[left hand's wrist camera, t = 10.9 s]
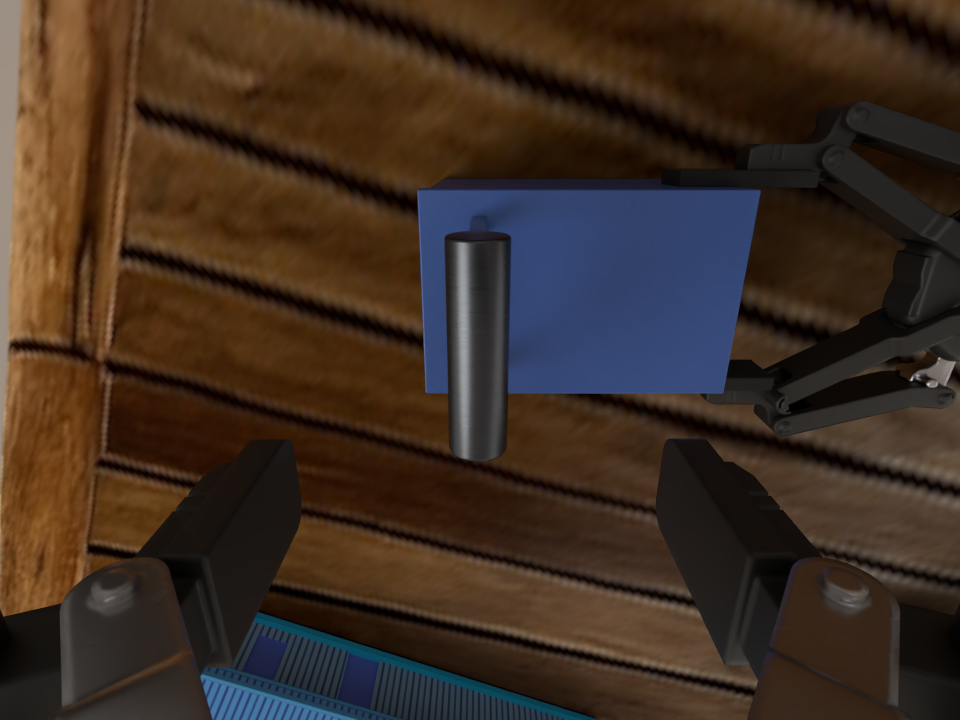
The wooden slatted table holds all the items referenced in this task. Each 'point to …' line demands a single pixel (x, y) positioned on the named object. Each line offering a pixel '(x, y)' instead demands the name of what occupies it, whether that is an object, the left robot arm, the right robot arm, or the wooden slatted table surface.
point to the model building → (350, 683)
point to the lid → (576, 295)
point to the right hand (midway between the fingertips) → (657, 283)
